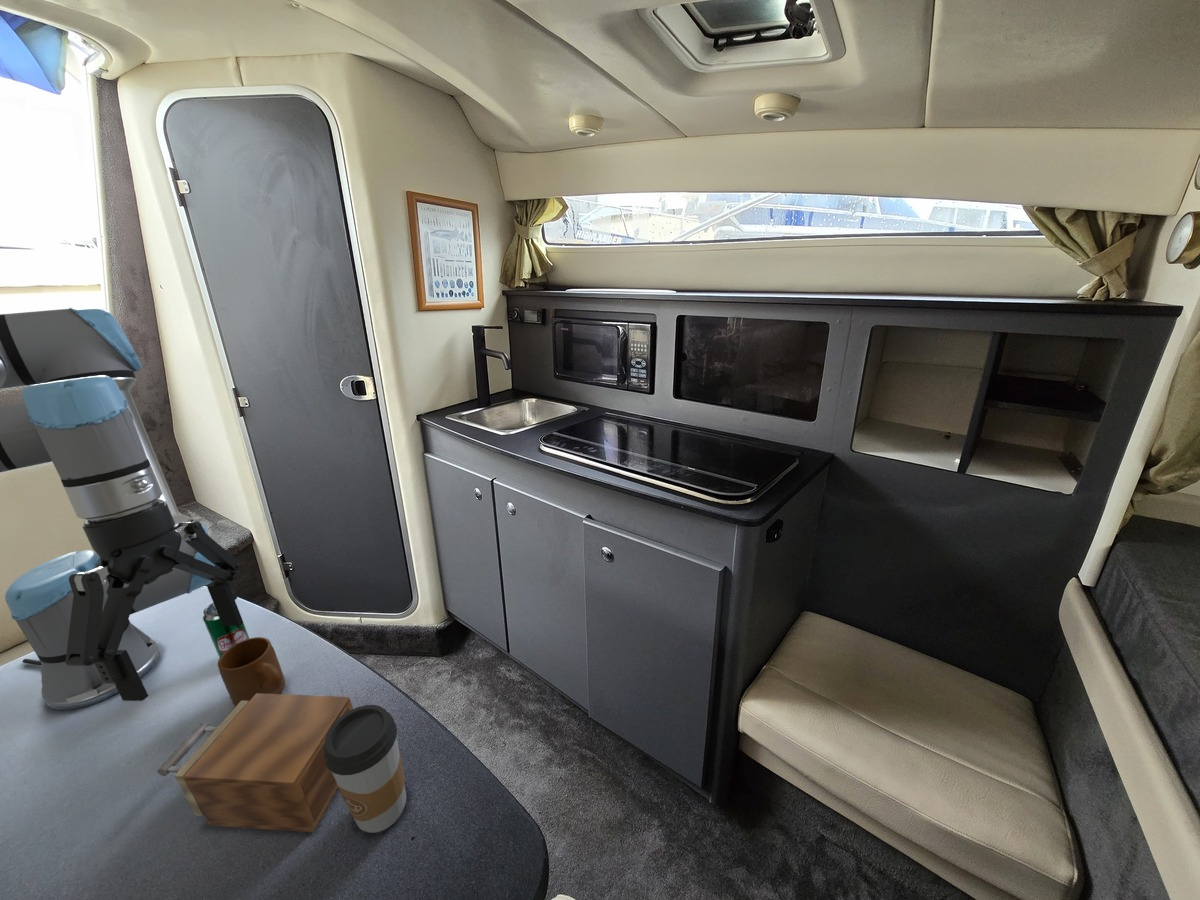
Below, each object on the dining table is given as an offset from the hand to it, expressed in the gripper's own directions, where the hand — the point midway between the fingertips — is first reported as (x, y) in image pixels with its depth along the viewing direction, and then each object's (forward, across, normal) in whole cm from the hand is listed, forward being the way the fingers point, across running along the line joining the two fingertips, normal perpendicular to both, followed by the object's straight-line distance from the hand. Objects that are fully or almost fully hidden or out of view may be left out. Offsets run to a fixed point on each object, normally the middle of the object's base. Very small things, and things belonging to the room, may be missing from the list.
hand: (189, 657), depth 64 cm
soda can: (+18, +21, +20) cm, 35 cm away
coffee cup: (+24, -1, -22) cm, 33 cm away
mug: (+20, +13, +7) cm, 25 cm away
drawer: (+21, +1, -1) cm, 21 cm away
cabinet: (+22, +1, -7) cm, 23 cm away
